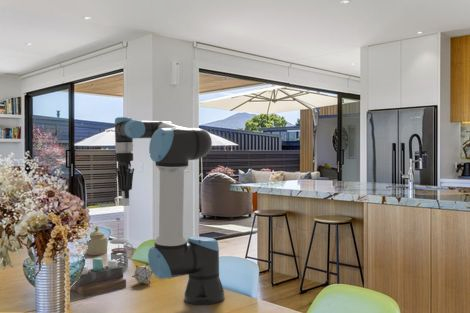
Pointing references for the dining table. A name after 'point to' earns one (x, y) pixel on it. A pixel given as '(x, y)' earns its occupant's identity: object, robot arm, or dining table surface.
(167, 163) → the robot arm
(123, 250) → the french press
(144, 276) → the grey spiky ball
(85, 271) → the grey plug
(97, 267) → the teal plug
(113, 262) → the grey plug
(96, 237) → the sugar bowl
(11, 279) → the dining table surface
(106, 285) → the socket board
